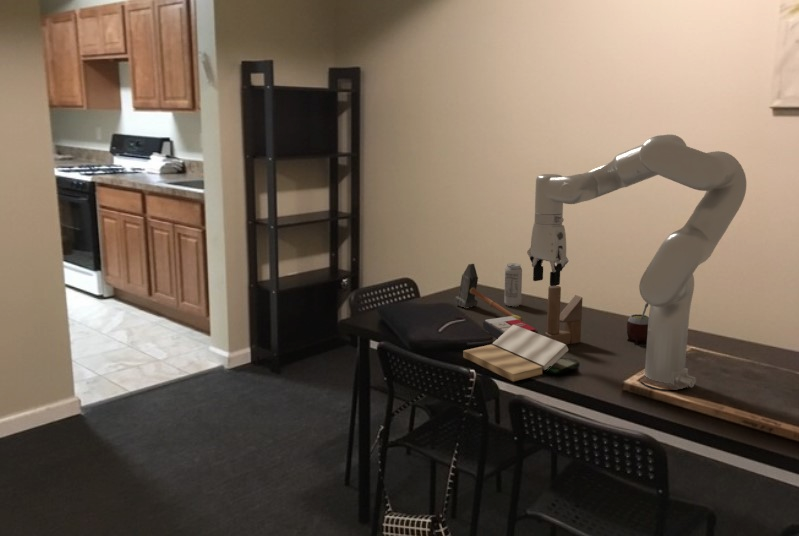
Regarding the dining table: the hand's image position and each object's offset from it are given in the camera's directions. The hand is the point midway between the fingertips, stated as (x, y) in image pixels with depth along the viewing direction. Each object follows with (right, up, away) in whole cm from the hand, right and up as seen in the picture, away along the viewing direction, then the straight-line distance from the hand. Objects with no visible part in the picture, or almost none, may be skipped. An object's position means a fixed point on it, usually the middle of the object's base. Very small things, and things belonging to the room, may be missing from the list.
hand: (546, 282), depth 198 cm
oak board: (-13, -23, -3) cm, 27 cm away
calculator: (-7, -18, +24) cm, 30 cm away
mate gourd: (+31, -19, +15) cm, 39 cm away
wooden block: (+8, -19, +15) cm, 25 cm away
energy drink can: (0, -10, +57) cm, 58 cm away
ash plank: (-4, -19, +2) cm, 19 cm away
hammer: (-10, -12, +46) cm, 49 cm away
